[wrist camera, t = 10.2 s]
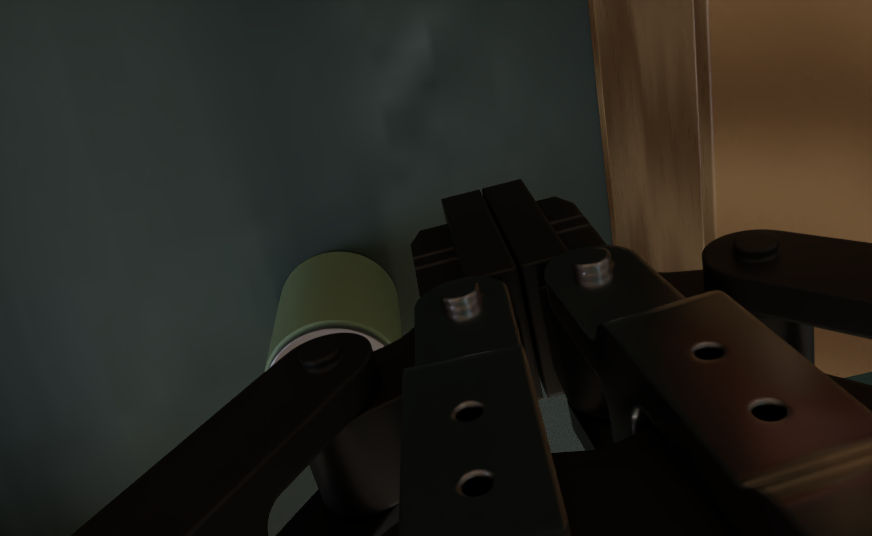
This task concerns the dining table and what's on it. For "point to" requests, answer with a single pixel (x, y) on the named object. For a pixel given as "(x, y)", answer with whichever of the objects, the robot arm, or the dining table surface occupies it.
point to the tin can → (335, 303)
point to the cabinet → (737, 128)
